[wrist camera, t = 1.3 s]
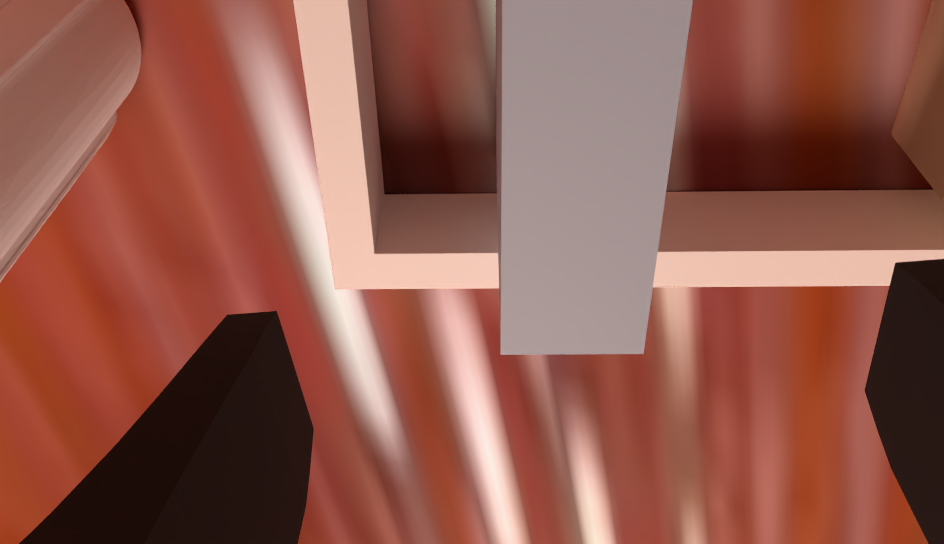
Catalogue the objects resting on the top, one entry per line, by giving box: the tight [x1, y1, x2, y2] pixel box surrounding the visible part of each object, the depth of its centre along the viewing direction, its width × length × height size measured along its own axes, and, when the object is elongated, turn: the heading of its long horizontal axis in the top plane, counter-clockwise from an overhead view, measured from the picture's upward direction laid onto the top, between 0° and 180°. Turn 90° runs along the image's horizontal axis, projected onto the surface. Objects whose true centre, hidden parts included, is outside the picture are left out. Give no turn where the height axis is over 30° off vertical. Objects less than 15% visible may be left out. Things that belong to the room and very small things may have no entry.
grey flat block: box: [496, 0, 693, 355], centre depth 16 cm, size 2×8×7 cm, turn 1°
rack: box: [293, 0, 944, 289], centre depth 16 cm, size 20×13×6 cm, turn 91°
